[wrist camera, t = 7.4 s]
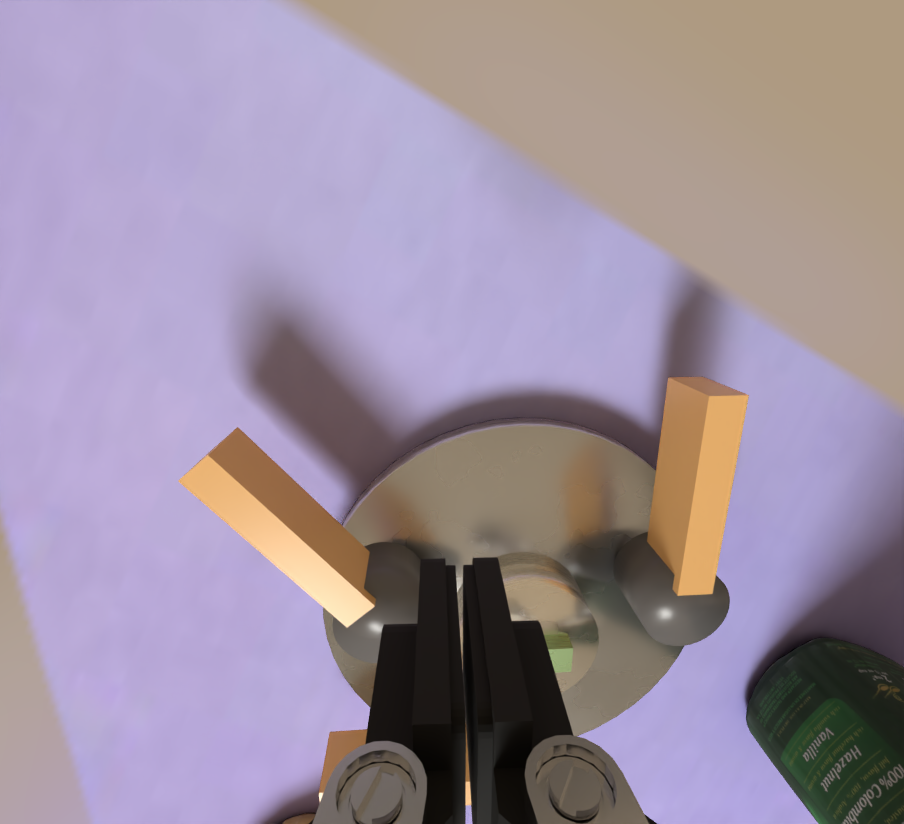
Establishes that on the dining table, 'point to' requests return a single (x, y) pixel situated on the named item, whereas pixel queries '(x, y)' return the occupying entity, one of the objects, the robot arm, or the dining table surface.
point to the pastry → (300, 819)
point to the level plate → (529, 546)
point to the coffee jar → (835, 730)
